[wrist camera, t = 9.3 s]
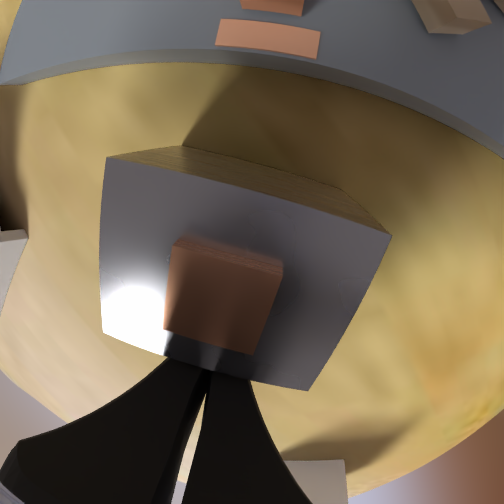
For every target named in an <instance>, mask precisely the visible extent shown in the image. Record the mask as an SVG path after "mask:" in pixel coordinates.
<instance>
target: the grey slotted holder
mask: <svg viewBox="0 0 504 504" xmlns="http://www.w3.org/2000/svg"><path fill="white" fill-rule="evenodd" d="M27 240H28V236H27V234H26V232H25V230H24V229H21V230H11V231H1V228H0V315H1V311H2V308H3V304H4V301H5V298H6V295H7V292H8V289H9V286H10V283H11V280H12V277H13V274H14V272H15V269H16V266H17V264H18V261H19V259H20V256H21V254H22V252H23V249H24V247H25V245H26V242H27Z"/></svg>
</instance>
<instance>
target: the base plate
mask: <svg viewBox="0 0 504 504" xmlns="http://www.w3.org/2000/svg"><path fill="white" fill-rule="evenodd" d="M480 1H481V3H482V5H483V7H484V8H485V10H486V12H487V14H488V16H489V18H490V20H491V22H492V24H489V25H486V26H483V27H481V28H478V29H475V30H473V31H470V32H468V33H465V34H463V35H462V34H444V33H428V31H427V29H426V27H425V25H424V23H423V21H422V19H421V17H420V15H419V13H418V11H417V9H416V8H415V6H414V4H413V2H412V1H411V0H304V4H303V9H302V14H301V16H296V15H290V14H284V13H277V12H269V11H261V10H250V9H242V6H241V3H240V0H22V2H21V5H20V7H19V10H18V12H17V15H16V18H15V20H14V23H13V26H12V29H11V32H10V35H9V39H8V42H7V45H6V49H5V53H4V57H3V61H2V65H1V69H0V85H23V84H27V83H30V82H33V81H37V80H41V79H45V78H48V77H53V76H57V75H61V74H66V73H71V72H76V71H81V70H87V69H93V68H100V67H107V66H116V65H126V64H138V63H156V62H200V63H219V64H231V65H241V66H250V67H258V68H265V69H272V70H278V71H284V72H289V73H294V74H299V75H304V76H309V77H313V78H318V79H322V80H326V81H330V82H333V83H337V84H341V85H344V86H348V87H351V88H355V89H358V90H361V91H364V92H367V93H370V94H373V95H376V96H379V97H382V98H385V99H387V100H390V101H393V102H395V103H398V104H400V105H403V106H405V107H408V108H410V109H413V110H415V111H417V112H419V113H422V114H424V115H426V116H428V117H431V118H433V119H435V120H437V121H439V122H441V123H443V124H445V125H447V126H449V127H451V128H453V129H455V130H457V131H458V132H460V133H462V134H464V135H466V136H467V137H469V138H471V139H473V140H474V141H476V142H478V143H480V144H481V145H483V146H484V147H486V148H488V149H489V150H491V151H492V152H494V153H495V154H497V155H499V156H500V157H502V158H503V159H504V13H503V12H502V10H501V9H500V8H499V7H498V5H497V4H496V3H495V2H494V1H493V0H480Z"/></svg>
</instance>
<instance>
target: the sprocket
mask: <svg viewBox="0 0 504 504" xmlns="http://www.w3.org/2000/svg"><path fill="white" fill-rule="evenodd" d="M411 1H412V2H413V4H414V6H415V8H416V9H417V11H418V13H419V15H420V17H421V19H422V21H423V23H424V25H425V27H426V29H427V31H428V33H444V34H462V35H463V34H465V33H468V32H470V31H473V30H475V29H478V28H481V27H483V26H486V25H489V24H492V22H491V20H490V18H489V16H488V14H487V12H486V10H485V8H484V7H483V5H482V3H481V1H480V0H411ZM493 1H494V2H495V3H496V4H497V5H498V7H499V8H500V9H501V10H502V12H503V13H504V0H493ZM240 3H241V6H242V9H250V10H261V11H269V12H277V13H284V14H290V15H296V16H301V14H302V9H303V4H304V0H240Z"/></svg>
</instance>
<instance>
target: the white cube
mask: <svg viewBox="0 0 504 504" xmlns="http://www.w3.org/2000/svg"><path fill="white" fill-rule="evenodd" d="M283 461H284V462H285V464H286V466H287V467H288V469H289V471H290V472H291V474H292V475H293V477H294V479H295V480H296V482H297V483H298V485H299V486H300V487H301V489H302V490H303V492H304V493H305V494H306V496H307V497H308V498H309V500H310V501H311V502H312V503H313V504H348V495H347V483H346V472H345V462H344V459H340V460H320V461H285V460H283Z"/></svg>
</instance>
